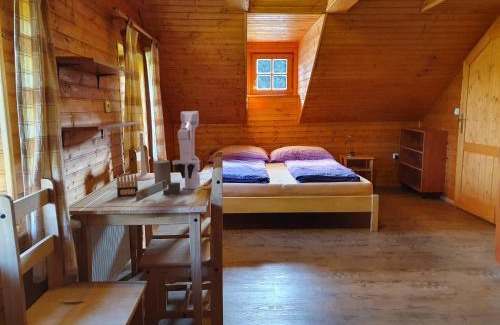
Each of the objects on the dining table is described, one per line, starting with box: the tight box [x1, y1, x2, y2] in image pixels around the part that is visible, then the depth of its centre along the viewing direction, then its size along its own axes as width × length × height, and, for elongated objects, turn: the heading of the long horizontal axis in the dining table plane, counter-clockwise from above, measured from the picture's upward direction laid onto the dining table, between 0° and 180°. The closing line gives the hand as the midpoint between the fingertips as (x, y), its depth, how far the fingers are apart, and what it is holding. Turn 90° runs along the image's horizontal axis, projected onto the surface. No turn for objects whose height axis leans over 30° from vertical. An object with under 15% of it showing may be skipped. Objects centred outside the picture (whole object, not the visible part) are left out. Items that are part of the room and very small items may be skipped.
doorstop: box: [162, 182, 181, 196], centre depth 203 cm, size 8×4×6 cm, turn 74°
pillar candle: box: [152, 159, 172, 185], centre depth 229 cm, size 10×10×15 cm
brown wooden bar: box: [135, 180, 168, 202], centre depth 205 cm, size 30×2×5 cm, turn 164°
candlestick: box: [136, 132, 155, 182], centre depth 245 cm, size 13×13×30 cm
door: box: [146, 182, 164, 196], centre depth 208 cm, size 16×1×4 cm, turn 164°
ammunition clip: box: [116, 173, 139, 198], centre depth 200 cm, size 11×2×12 cm, turn 100°
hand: (186, 178), depth 200 cm, fingers open, 3 cm apart
